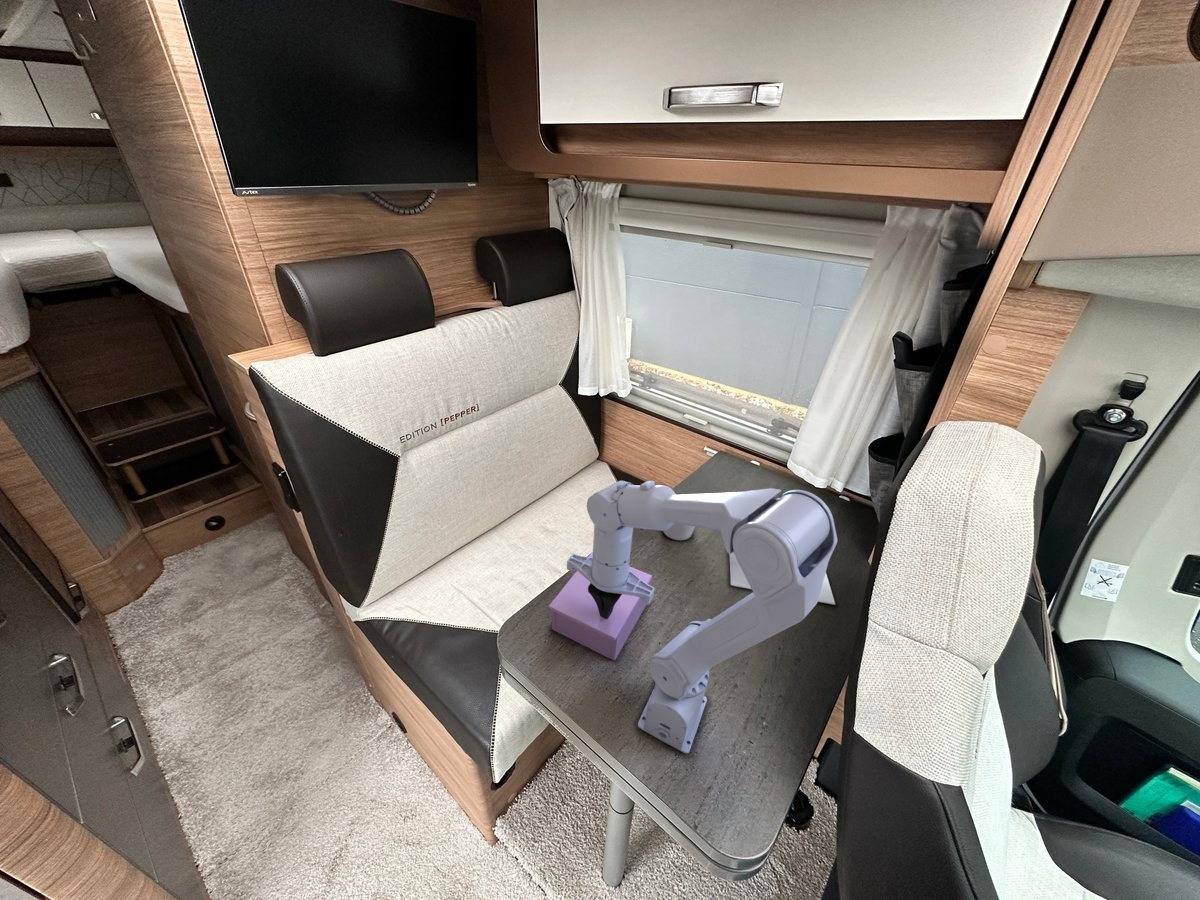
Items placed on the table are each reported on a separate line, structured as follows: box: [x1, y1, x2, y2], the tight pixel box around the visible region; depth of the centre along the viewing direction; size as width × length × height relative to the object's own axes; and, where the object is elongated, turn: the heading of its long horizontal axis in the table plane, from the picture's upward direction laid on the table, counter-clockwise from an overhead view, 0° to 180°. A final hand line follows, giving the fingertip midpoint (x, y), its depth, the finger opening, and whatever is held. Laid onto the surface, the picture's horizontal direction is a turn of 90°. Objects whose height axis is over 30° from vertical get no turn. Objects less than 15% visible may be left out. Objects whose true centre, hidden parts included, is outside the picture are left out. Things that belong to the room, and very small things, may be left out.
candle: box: [662, 523, 696, 541], centre depth 107 cm, size 9×9×6 cm
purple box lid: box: [548, 550, 653, 640], centre depth 83 cm, size 16×13×1 cm
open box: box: [551, 579, 653, 662], centre depth 85 cm, size 15×13×6 cm
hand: (606, 613), depth 78 cm, fingers closed
